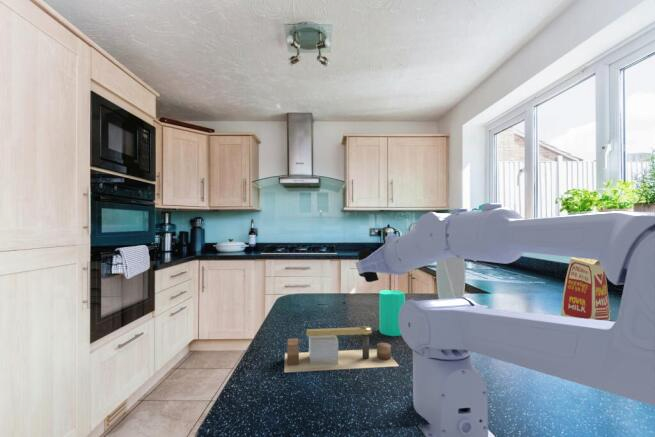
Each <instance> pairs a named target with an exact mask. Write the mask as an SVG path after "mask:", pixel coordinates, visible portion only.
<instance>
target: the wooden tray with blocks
mask: <svg viewBox="0 0 655 437" xmlns="http://www.w3.org/2000/svg"><path fill="white" fill-rule="evenodd" d="M361 335H362V337H361V338H362V349H349V350H345V349H344V350H338V364H332V365H313V366H310V361H309V351H307V352H306V351H305V352H300V350H299V349H300V342H299V338H287V349H286V350H287V351H286V352H285V353H284V366H283V367H284V368H283V372H284V373H301V372H303V373H304V372H318V371H336V370H338V371H339V370H354V369H357V370H358V369H374V368H392V367H395V368H396V367H400V365H399V364H398V363H397V361H396V360H395V359H394V358H393V357H392V345H391V344H390V343H388V342H378V343H377V344H376V348H370V335H363V334H361Z"/></svg>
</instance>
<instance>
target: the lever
mask: <svg viewBox="0 0 655 437" xmlns="http://www.w3.org/2000/svg"><path fill="white" fill-rule="evenodd" d="M362 334H363V335H369V336H370V335H372V327H371V326H366V325H363V326H359V327H358V326H357V327H333V328H332V327H331V328H329V327H328V328H327V327H326V328H310V329H309V328H306V336H307V337H309V336H330V335H336V336H348V335H349V336H350V335H352V336H355V335H362Z"/></svg>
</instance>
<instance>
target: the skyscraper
mask: <svg viewBox="0 0 655 437" xmlns="http://www.w3.org/2000/svg"><path fill="white" fill-rule="evenodd" d="M435 271H436V273H435V274H436V287H437V288H436V289H437V296H438V299H451V298H457V297H465V296H464V295H465V290H466V289H465V288H466V287H465V286H466V264H465V259H461V258H457V257H448V258H445V259H442V260H439V261H437V262H436V266H435Z"/></svg>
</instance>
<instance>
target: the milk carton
mask: <svg viewBox="0 0 655 437" xmlns="http://www.w3.org/2000/svg"><path fill="white" fill-rule="evenodd" d="M561 300H562V302H561V311H560V316H565V317H575V318H584V319H594V320H604V321H611V315H610V312H611V311H610V300H609V292H608V283H607V276H606V274H605V272H604V270H603V268H602V267H601V265H600V263H599V261H598V260H594V259H585V258H576V257H570V260H569V265H568V269H567V272H566V276H565V281H564V287H563V293H562V299H561Z"/></svg>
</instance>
